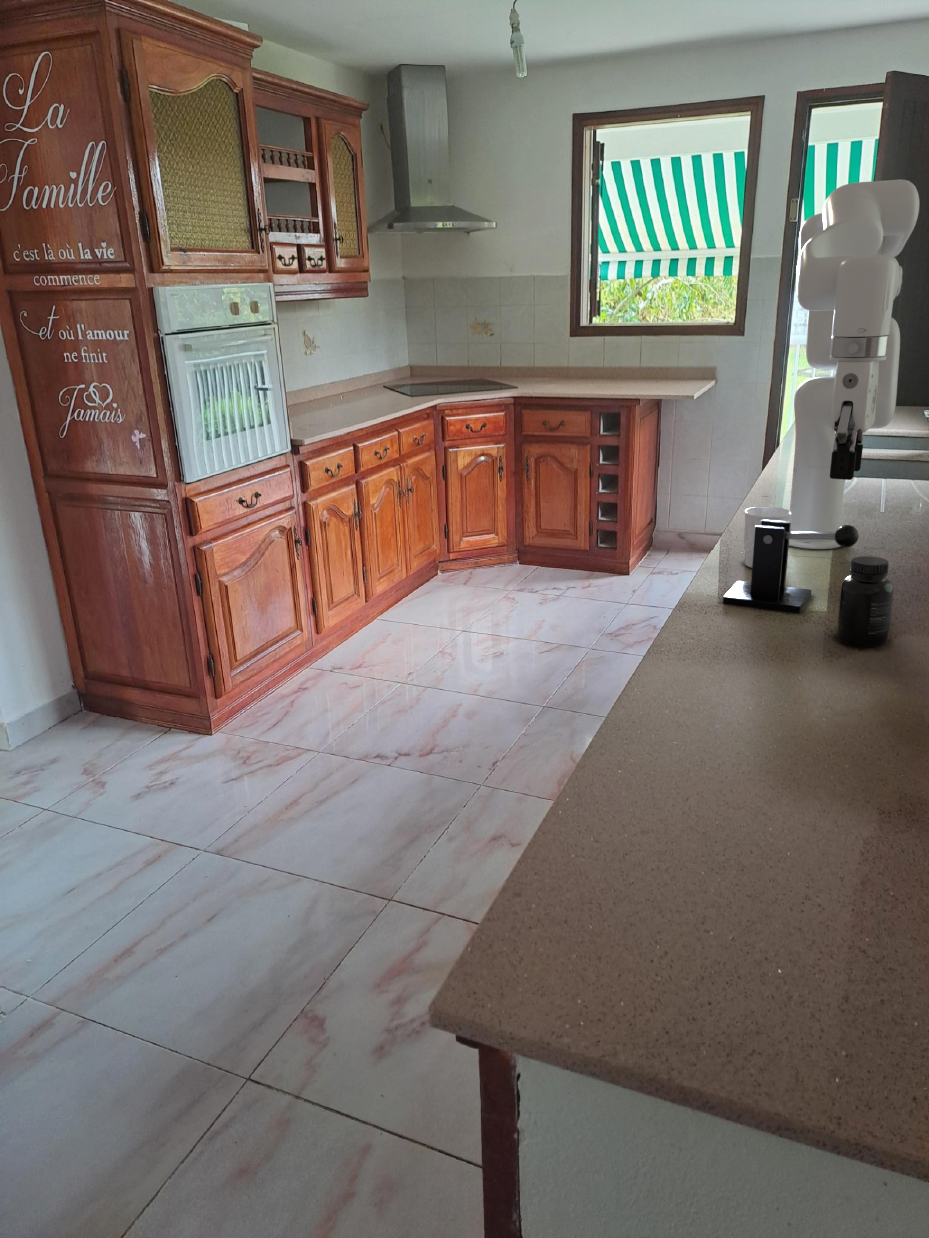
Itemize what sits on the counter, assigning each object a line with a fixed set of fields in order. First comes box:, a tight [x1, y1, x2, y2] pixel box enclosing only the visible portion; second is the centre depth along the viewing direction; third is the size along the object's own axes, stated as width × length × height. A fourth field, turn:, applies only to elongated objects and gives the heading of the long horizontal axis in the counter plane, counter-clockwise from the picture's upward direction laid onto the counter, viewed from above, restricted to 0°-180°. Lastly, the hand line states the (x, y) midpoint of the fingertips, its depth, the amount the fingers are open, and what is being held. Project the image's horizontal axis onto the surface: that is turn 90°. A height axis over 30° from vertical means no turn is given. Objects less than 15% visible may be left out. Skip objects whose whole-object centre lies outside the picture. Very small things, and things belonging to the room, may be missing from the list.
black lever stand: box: [722, 519, 812, 615], centre depth 142 cm, size 12×9×13 cm
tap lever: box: [771, 524, 860, 548], centre depth 137 cm, size 14×3×3 cm, turn 59°
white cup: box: [743, 506, 791, 569], centre depth 160 cm, size 8×8×10 cm
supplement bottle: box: [836, 555, 895, 649], centre depth 125 cm, size 7×7×12 cm
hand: (845, 473), depth 132 cm, fingers open, 5 cm apart
